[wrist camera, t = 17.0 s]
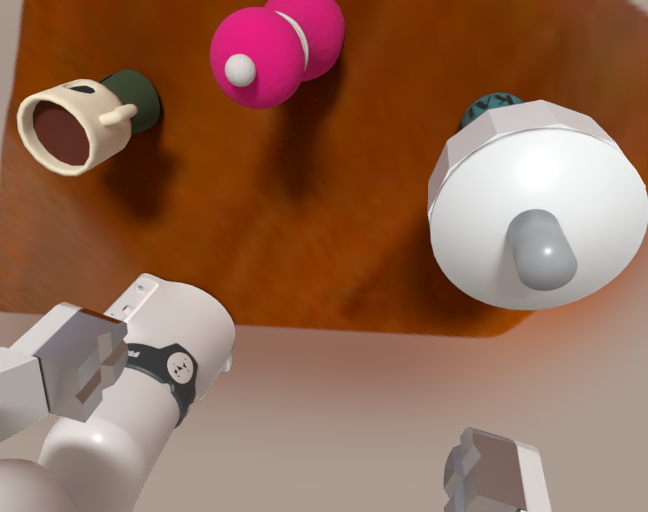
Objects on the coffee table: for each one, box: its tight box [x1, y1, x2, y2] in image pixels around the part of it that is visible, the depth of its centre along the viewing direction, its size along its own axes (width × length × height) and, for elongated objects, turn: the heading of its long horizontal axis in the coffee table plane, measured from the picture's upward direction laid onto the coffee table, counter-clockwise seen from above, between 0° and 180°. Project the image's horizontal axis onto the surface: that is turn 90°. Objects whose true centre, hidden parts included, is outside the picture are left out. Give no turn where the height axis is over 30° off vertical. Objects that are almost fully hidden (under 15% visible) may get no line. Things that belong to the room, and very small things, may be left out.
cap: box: [428, 100, 648, 310], centre depth 28 cm, size 12×12×10 cm
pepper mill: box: [210, 0, 345, 109], centre depth 35 cm, size 7×7×20 cm
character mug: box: [17, 69, 160, 176], centre depth 45 cm, size 11×7×13 cm, turn 107°
